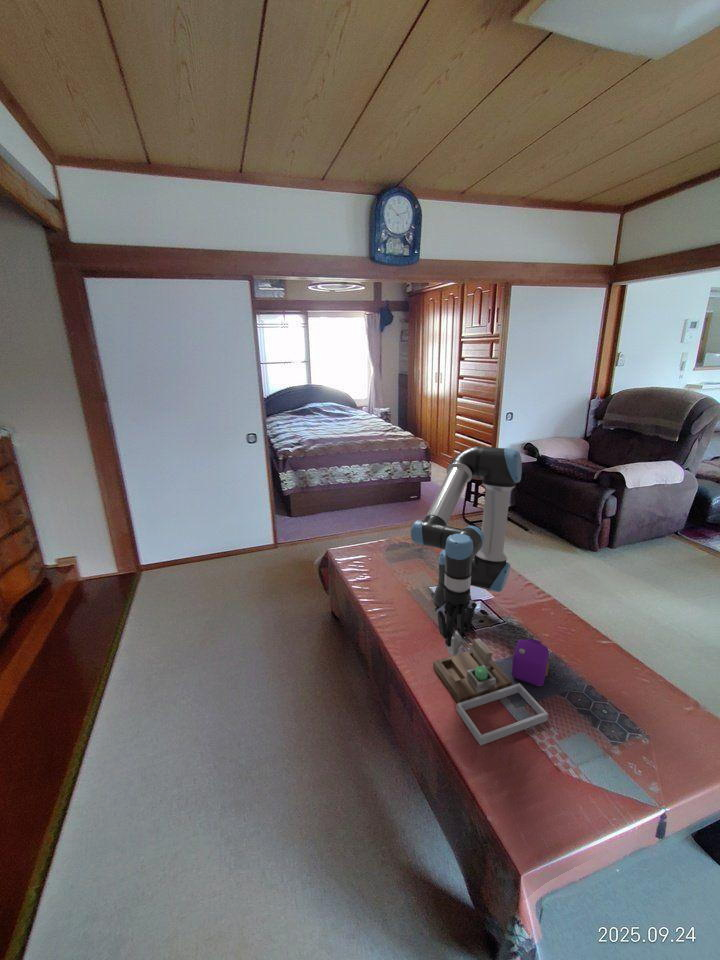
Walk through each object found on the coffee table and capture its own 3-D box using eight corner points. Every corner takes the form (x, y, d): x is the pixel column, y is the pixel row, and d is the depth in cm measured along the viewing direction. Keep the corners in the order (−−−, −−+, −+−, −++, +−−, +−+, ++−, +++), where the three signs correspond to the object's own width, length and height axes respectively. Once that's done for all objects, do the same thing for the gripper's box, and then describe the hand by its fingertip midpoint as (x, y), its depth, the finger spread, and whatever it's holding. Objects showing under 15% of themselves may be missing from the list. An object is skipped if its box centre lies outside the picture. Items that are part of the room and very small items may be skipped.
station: (480, 653, 138) (481, 632, 136) (511, 688, 124) (513, 665, 121) (433, 667, 133) (433, 645, 130) (459, 705, 118) (461, 682, 116)
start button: (482, 674, 125) (483, 664, 124) (489, 682, 122) (490, 673, 121) (472, 677, 124) (472, 667, 123) (479, 686, 121) (479, 676, 120)
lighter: (445, 647, 129) (446, 626, 127) (450, 646, 130) (451, 624, 128) (457, 662, 123) (458, 640, 121) (462, 661, 123) (463, 639, 121)
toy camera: (545, 659, 135) (549, 634, 132) (549, 691, 123) (553, 663, 120) (511, 652, 138) (513, 628, 135) (511, 682, 126) (514, 656, 123)
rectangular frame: (518, 689, 123) (519, 683, 123) (547, 720, 113) (548, 713, 112) (456, 710, 117) (456, 703, 116) (480, 745, 106) (480, 738, 106)
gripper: (471, 575, 125) (467, 639, 132) (428, 584, 120) (426, 650, 127) (486, 587, 118) (481, 654, 125) (441, 598, 114) (438, 666, 121)
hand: (453, 652), depth 126 cm, fingers closed on lighter, 2 cm apart
